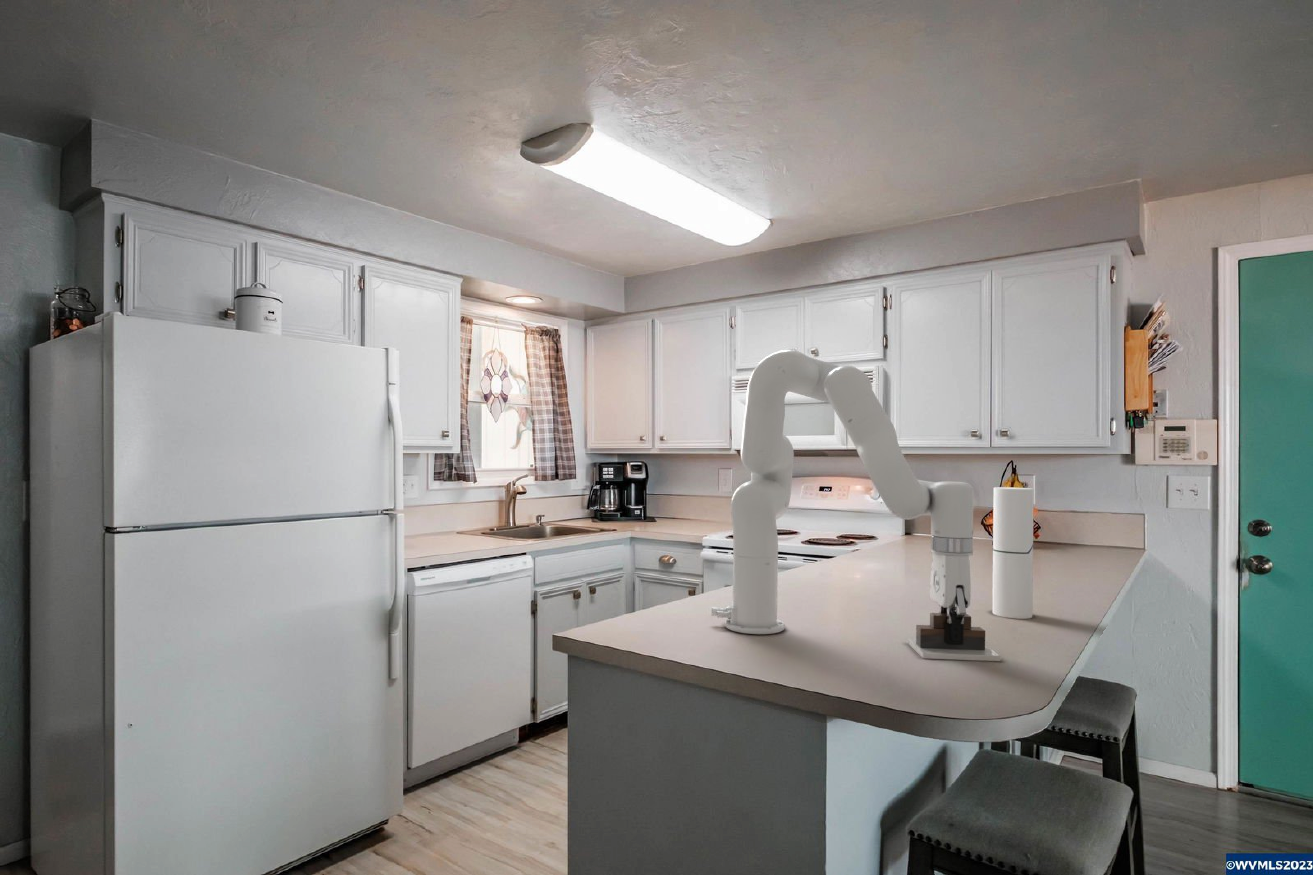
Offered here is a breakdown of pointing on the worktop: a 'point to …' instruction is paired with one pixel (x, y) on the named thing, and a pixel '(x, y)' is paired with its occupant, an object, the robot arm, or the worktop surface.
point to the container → (1013, 552)
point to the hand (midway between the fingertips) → (950, 640)
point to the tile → (955, 653)
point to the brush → (936, 634)
